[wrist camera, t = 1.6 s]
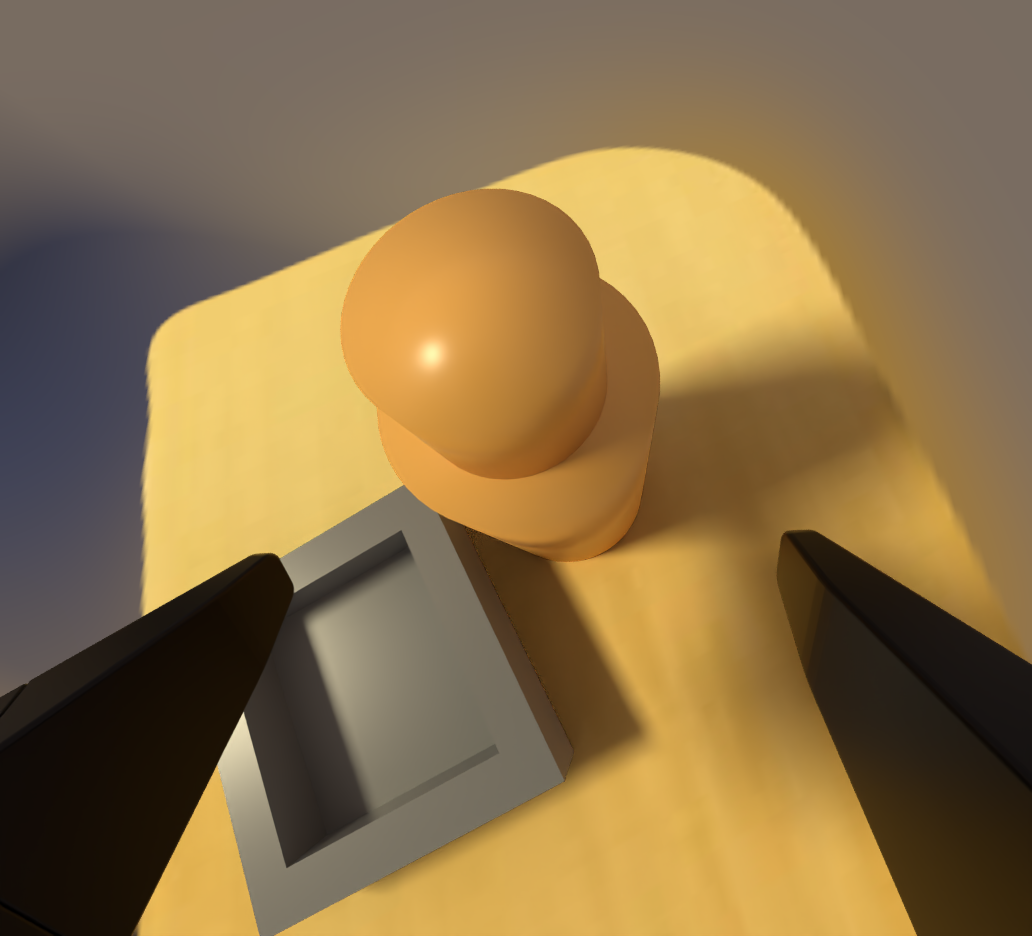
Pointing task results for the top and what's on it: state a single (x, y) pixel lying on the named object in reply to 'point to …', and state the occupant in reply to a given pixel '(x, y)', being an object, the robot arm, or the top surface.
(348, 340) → the peach lotion bottle
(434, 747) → the socket
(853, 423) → the top surface
